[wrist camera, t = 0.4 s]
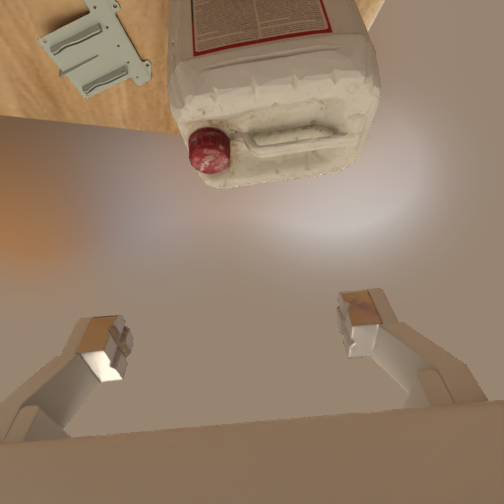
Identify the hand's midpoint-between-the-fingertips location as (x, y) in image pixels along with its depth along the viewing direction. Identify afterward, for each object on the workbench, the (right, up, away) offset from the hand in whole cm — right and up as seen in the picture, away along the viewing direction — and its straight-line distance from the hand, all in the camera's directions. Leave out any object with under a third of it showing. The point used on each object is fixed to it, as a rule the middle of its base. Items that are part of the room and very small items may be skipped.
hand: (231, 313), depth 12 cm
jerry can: (+1, +41, +39) cm, 57 cm away
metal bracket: (-26, +37, +43) cm, 62 cm away
